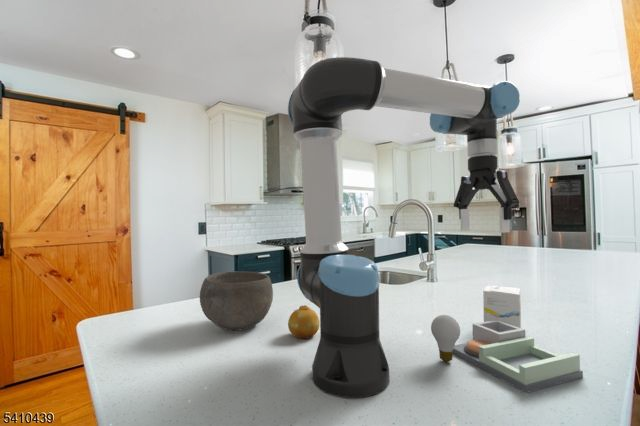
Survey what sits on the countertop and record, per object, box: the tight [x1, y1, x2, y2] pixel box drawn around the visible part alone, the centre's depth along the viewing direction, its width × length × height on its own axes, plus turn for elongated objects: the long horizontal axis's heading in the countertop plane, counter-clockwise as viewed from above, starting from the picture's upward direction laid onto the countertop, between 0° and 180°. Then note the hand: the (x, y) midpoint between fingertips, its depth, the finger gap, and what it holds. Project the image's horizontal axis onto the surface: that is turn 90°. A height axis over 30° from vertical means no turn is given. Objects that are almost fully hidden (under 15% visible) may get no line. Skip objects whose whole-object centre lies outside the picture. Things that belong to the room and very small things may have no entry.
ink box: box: [483, 285, 522, 328], centre depth 87 cm, size 9×8×12 cm
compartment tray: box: [453, 320, 584, 393], centre depth 69 cm, size 15×19×6 cm
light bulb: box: [430, 314, 461, 363], centre depth 70 cm, size 6×6×10 cm
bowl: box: [199, 270, 274, 331], centre depth 96 cm, size 21×21×15 cm
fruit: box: [287, 304, 320, 339], centre depth 87 cm, size 8×8×8 cm
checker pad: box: [466, 339, 491, 354], centre depth 72 cm, size 5×5×1 cm
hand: (483, 231), depth 92 cm, fingers open, 13 cm apart
